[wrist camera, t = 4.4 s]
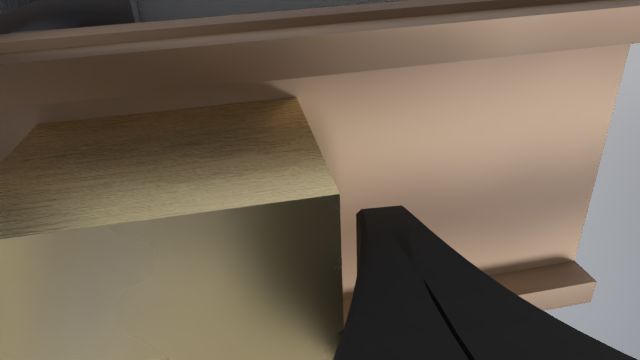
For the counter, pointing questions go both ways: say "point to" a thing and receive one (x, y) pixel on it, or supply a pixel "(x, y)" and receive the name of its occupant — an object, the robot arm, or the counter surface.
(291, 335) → the block
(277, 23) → the beam
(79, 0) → the stand
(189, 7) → the counter surface
